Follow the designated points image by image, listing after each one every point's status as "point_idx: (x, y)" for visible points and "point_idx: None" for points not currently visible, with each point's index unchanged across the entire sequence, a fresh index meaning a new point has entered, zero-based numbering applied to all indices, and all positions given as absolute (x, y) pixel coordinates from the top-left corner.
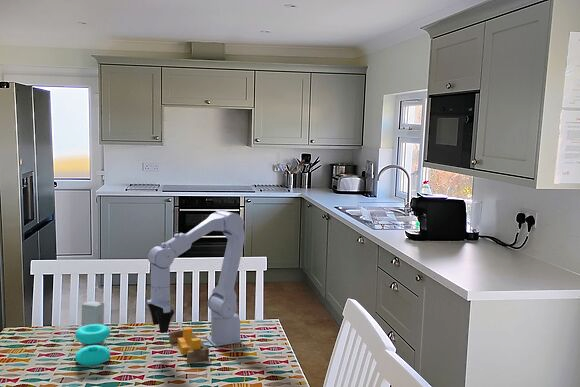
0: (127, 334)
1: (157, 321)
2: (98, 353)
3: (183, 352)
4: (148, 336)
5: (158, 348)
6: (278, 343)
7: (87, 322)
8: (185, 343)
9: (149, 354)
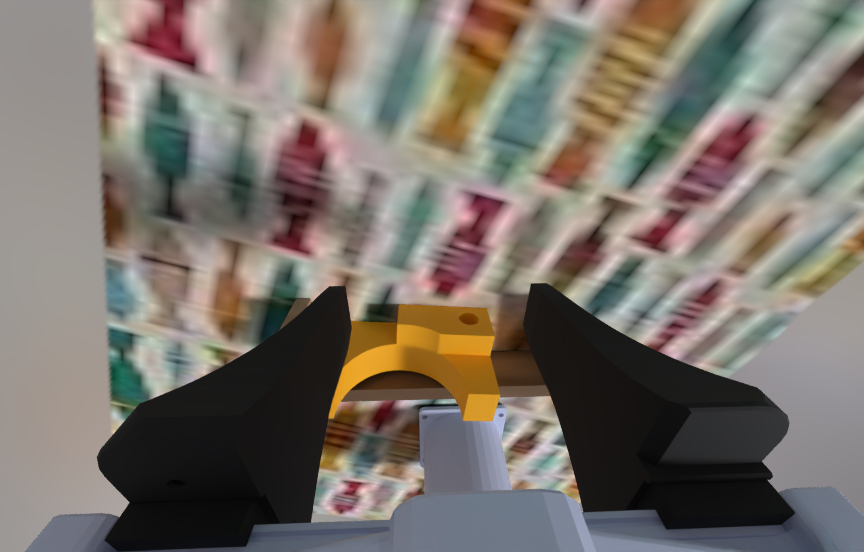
0: (817, 132)
1: (533, 322)
2: None
3: (398, 313)
4: (691, 231)
5: (517, 235)
6: (375, 512)
7: None
8: (428, 346)
9: (467, 175)
